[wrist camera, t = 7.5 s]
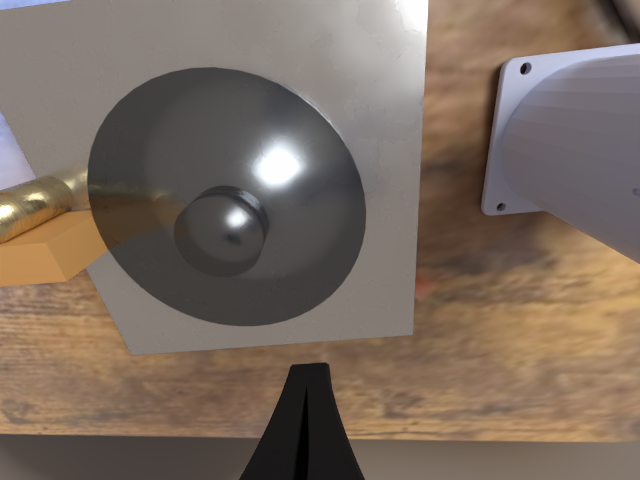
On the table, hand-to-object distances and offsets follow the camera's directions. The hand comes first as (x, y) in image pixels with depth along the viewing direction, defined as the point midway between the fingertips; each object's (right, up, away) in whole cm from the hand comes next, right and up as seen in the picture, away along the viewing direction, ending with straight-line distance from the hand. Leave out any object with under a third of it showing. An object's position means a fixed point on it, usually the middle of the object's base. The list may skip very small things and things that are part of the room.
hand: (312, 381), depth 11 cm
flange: (-6, +7, +5) cm, 11 cm away
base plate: (-4, +7, +7) cm, 11 cm away
